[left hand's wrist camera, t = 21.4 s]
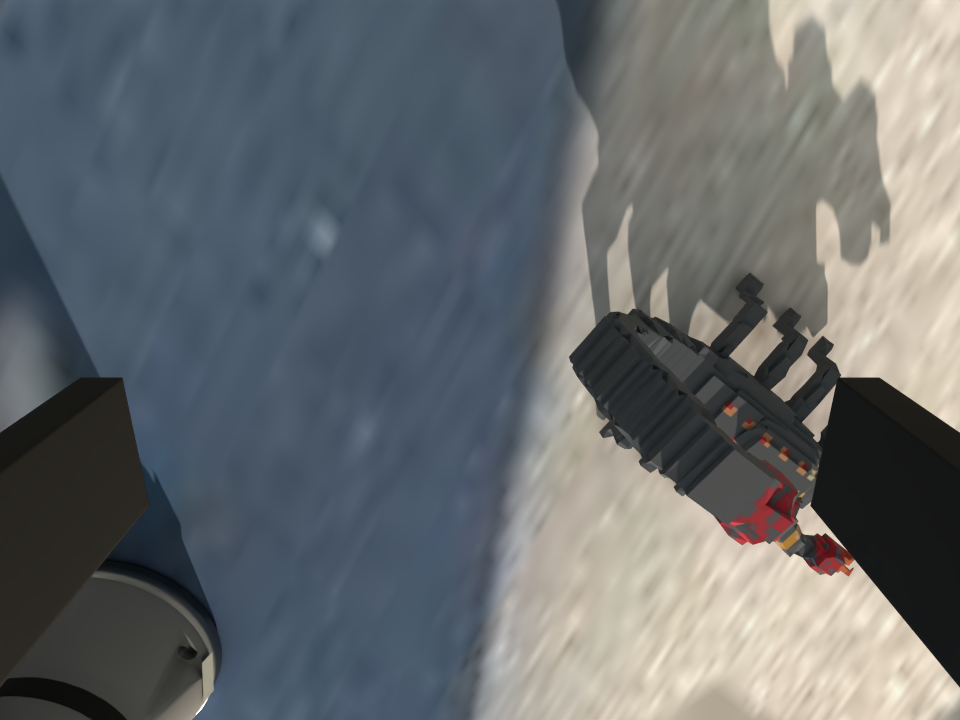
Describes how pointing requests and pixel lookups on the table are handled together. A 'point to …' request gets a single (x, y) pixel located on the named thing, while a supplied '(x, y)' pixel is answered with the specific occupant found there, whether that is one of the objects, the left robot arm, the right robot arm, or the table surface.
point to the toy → (718, 420)
